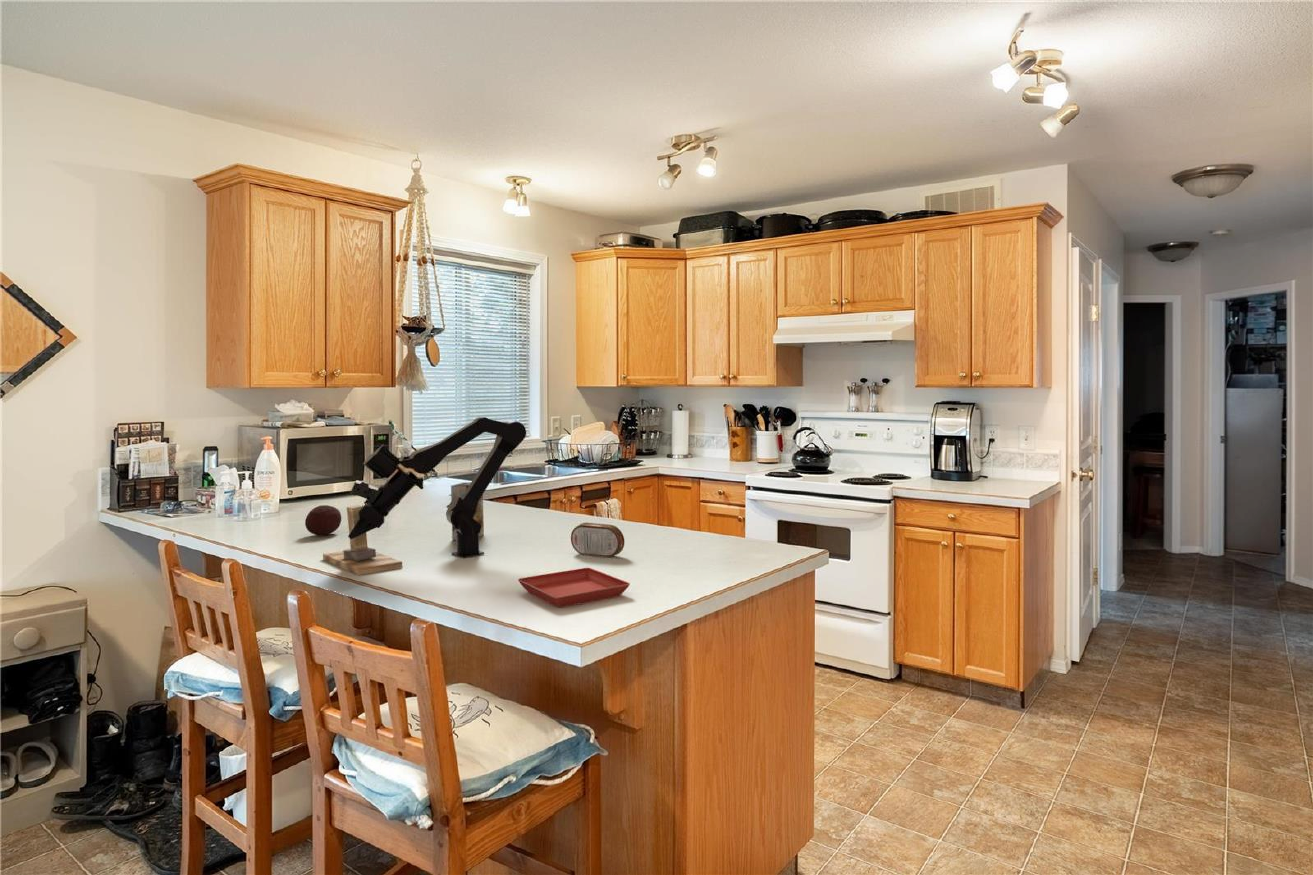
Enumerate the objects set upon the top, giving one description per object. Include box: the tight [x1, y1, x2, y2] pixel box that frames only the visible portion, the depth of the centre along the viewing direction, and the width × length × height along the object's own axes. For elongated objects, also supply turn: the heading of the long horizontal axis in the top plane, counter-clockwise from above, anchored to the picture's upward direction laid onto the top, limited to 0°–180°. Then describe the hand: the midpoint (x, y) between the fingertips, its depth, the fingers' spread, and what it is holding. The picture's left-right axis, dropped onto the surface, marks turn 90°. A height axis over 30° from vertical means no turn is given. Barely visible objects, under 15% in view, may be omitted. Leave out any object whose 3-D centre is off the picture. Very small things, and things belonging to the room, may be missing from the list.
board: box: [322, 550, 403, 576], centre depth 199 cm, size 24×11×2 cm, turn 42°
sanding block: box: [342, 504, 377, 561], centre depth 198 cm, size 7×5×13 cm
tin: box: [570, 522, 625, 558], centre depth 205 cm, size 15×3×8 cm, turn 65°
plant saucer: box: [517, 567, 631, 608], centre depth 167 cm, size 18×18×3 cm
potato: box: [304, 504, 342, 537], centre depth 238 cm, size 9×12×9 cm
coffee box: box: [450, 481, 485, 541], centre depth 232 cm, size 9×6×16 cm
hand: (350, 536), depth 197 cm, fingers closed on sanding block, 4 cm apart
